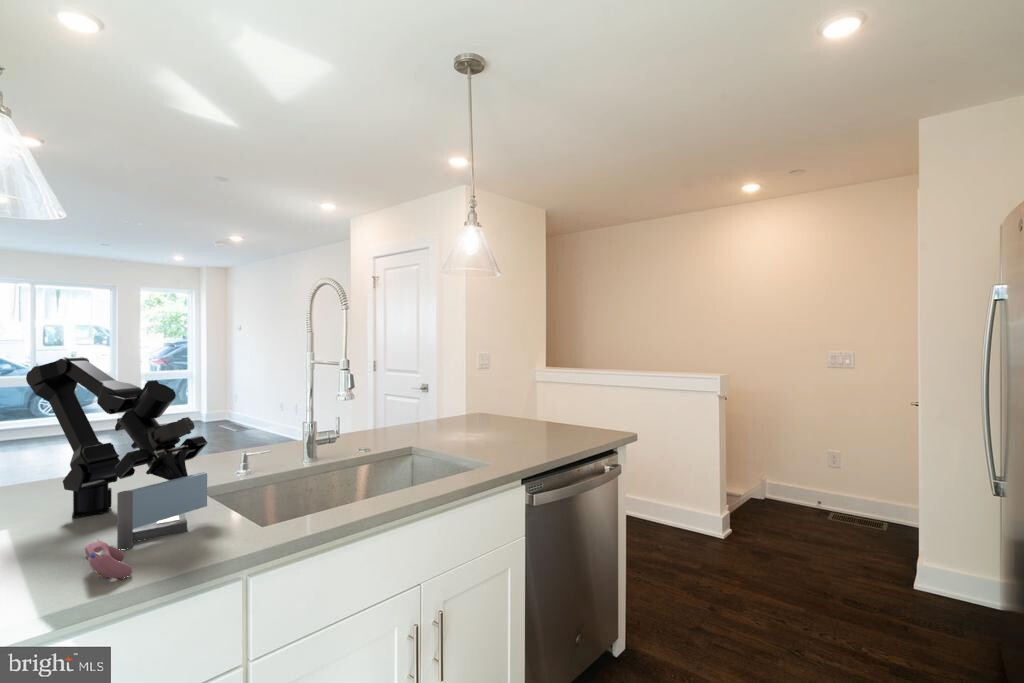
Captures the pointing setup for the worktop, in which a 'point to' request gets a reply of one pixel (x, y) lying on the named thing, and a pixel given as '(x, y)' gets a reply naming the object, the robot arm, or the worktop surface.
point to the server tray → (161, 528)
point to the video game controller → (106, 560)
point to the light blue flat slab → (158, 504)
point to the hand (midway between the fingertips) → (186, 484)
